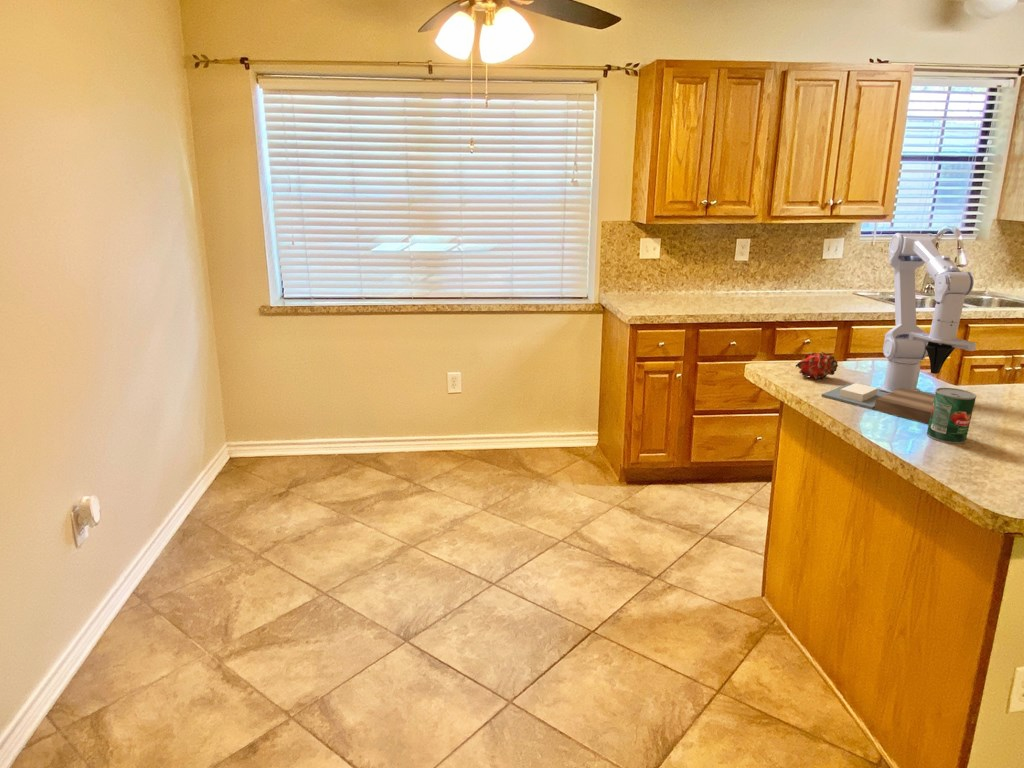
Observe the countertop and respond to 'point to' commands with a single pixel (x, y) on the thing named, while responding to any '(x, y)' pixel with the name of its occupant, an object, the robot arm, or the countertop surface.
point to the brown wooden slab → (907, 404)
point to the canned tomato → (951, 415)
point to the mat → (867, 403)
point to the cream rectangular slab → (858, 392)
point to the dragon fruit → (817, 365)
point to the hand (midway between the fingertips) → (934, 372)
